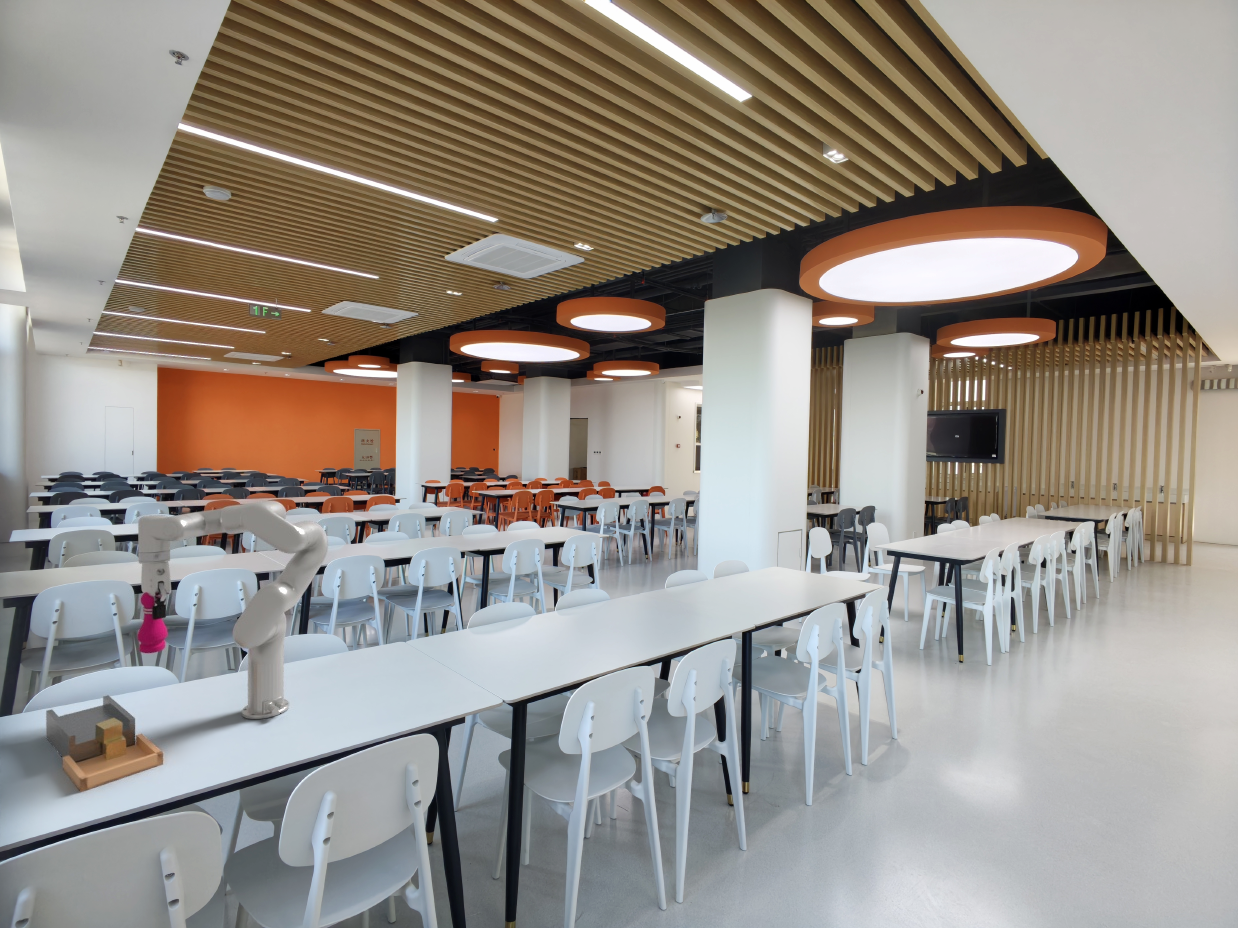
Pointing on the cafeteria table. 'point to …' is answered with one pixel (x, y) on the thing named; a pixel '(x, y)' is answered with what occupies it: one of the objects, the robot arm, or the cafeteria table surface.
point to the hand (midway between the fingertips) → (155, 615)
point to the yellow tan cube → (108, 730)
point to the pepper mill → (151, 628)
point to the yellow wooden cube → (114, 748)
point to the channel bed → (86, 729)
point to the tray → (113, 765)
